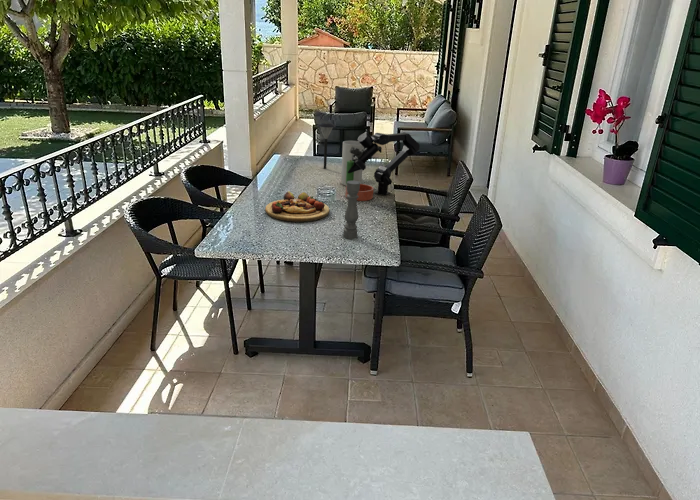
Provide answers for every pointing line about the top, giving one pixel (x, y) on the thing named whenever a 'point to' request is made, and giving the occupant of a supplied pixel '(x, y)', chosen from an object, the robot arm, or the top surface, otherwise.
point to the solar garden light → (326, 130)
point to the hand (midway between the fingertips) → (347, 171)
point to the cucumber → (349, 175)
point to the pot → (363, 192)
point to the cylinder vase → (347, 157)
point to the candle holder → (351, 210)
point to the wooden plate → (297, 208)
